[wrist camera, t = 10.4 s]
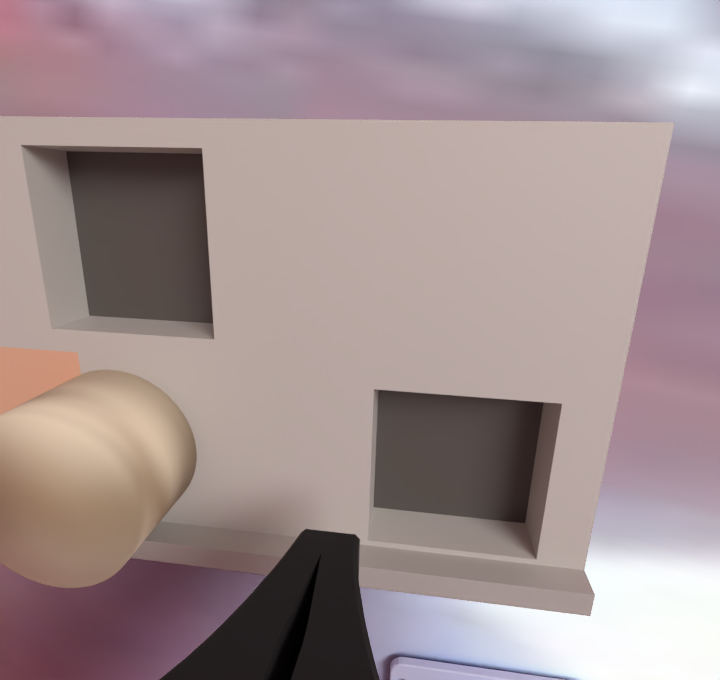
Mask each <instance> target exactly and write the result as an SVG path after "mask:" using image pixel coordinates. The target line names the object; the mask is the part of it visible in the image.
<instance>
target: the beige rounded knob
mask: <svg viewBox="0 0 720 680" xmlns="http://www.w3.org/2000/svg"><path fill="white" fill-rule="evenodd" d="M196 461H197V452H196V444H195V439H194V436H193V433H192V430H191V428H190V425H189V423H188V421H187V419H186V418H185V416H184V414H183V413H182V411H181V410H180V409H179V407H178V406H177V405H176V403H175V402H174V401H173V400H172V399H171V398H170V397H169V396H168V395H167V394H166V393H164V392H163V391H162V390H161V389H160V388H158V387H157V386H155V385H154V384H152V383H151V382H149V381H147V380H145V379H143V378H141V377H139V376H136V375H134V374H131V373H127V372H123V371H118V370H95V371H89V372H86V373H83V374H81V375H78V376H76V377H74V378H72V379H70V380H68V381H66V382H64V383H62V384H60V385H58V386H56V387H54V388H52V389H50V390H49V391H47V392H45V393H43V394H41V395H39V396H37V397H35V398H33V399H31V400H29V401H27V402H25V403H23V404H21V405H19V406H17V407H15V408H13V409H11V410H9V411H7V412H5V413H3V414H1V415H0V563H2V564H3V565H4V566H6V567H7V568H9V569H11V570H12V571H14V572H15V573H17V574H19V575H21V576H23V577H25V578H28V579H30V580H33V581H35V582H38V583H41V584H45V585H48V586H54V587H59V588H82V587H88V586H92V585H95V584H98V583H101V582H103V581H105V580H107V579H109V578H110V577H112V576H113V575H114V574H116V573H117V572H118V571H119V570H120V569H121V568H122V567H123V566H124V565H125V564H126V562H127V561H128V560H129V559H130V557H131V556H132V555H133V554H134V553H135V551H136V550H137V549H138V548H139V547H140V545H141V544H142V543H143V542H144V540H145V539H146V538H147V537H148V536H149V534H150V533H151V532H152V531H153V530H154V528H155V527H156V526H157V525H158V523H159V522H160V521H161V520H162V519H163V517H164V516H165V515H166V514H167V513H168V511H169V510H170V509H171V508H172V506H173V505H174V504H175V503H176V502H177V500H178V499H179V498H180V497H181V496H182V494H183V493H184V492H185V491H186V489H187V488H188V486H189V485H190V483H191V480H192V478H193V476H194V472H195V469H196Z"/></svg>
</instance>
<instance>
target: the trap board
mask: <svg viewBox="0 0 720 680" xmlns="http://www.w3.org/2000/svg"><path fill="white" fill-rule="evenodd" d="M673 127H674V123H656V122H548V121H440V120H332V119H224V118H116V117H8V116H0V415H1V414H3V413H5V412H7V411H9V410H11V409H13V408H15V407H17V406H19V405H21V404H23V403H25V402H27V401H29V400H31V399H33V398H35V397H37V396H39V395H41V394H43V393H45V392H47V391H49V390H50V389H52V388H54V387H56V386H58V385H60V384H62V383H64V382H66V381H68V380H70V379H72V378H74V377H76V376H78V375H81V374H83V373H86V372H89V371H95V370H118V371H123V372H127V373H131V374H134V375H136V376H139V377H141V378H143V379H145V380H147V381H149V382H151V383H152V384H154V385H155V386H157V387H158V388H160V389H161V390H162V391H163V392H164V393H166V394H167V395H168V396H169V397H170V398H171V399H172V400H173V401H174V402H175V403H176V405H177V406H178V407H179V409H180V410H181V411H182V413H183V414H184V416H185V418H186V419H187V421H188V423H189V425H190V428H191V430H192V433H193V436H194V439H195V444H196V452H197V461H196V469H195V472H194V476H193V478H192V480H191V483H190V485H189V486H188V488H187V489H186V491H185V492H184V493H183V494H182V496H181V497H180V498H179V499H178V500H177V502H176V503H175V504H174V505H173V506H172V508H171V509H170V510H169V511H168V513H167V514H166V515H165V516H164V517H163V519H162V520H161V521H160V522H159V523H158V525H157V526H156V527H155V528H154V530H153V531H152V532H151V533H150V534H149V536H148V537H147V538H146V539H145V540H144V542H143V543H142V544H141V545H140V547H139V548H138V549H137V550H136V551H135V553H134V554H133V555H132V556H131V557H130V558H135V559H143V560H151V561H158V562H166V563H174V564H182V565H190V566H198V567H206V568H214V569H222V570H230V571H238V572H246V573H254V574H262V575H268V574H269V573H270V572H271V571H272V569H273V568H274V567H275V566H276V565H277V563H278V562H279V561H280V560H281V558H282V557H283V556H284V555H285V553H286V552H287V551H288V549H289V548H290V547H291V545H292V544H293V543H294V541H295V540H296V539H297V537H298V536H299V535H300V533H301V532H302V531H303V530H305V529H311V530H320V531H329V532H338V533H347V534H356V536H357V537H358V538H359V539H360V551H359V587H365V588H373V589H380V590H388V591H396V592H404V593H412V594H420V595H428V596H436V597H444V598H452V599H460V600H468V601H476V602H484V603H492V604H499V605H507V606H515V607H523V608H531V609H539V610H547V611H555V612H563V613H571V614H579V615H587V616H590V614H591V610H592V605H593V600H594V596H595V595H594V592H593V590H592V588H591V585H590V583H589V581H588V578H587V576H586V574H585V572H584V567H585V562H586V557H587V552H588V547H589V543H590V538H591V533H592V528H593V523H594V518H595V513H596V508H597V503H598V498H599V493H600V488H601V483H602V478H603V473H604V468H605V463H606V458H607V453H608V448H609V444H610V439H611V434H612V429H613V424H614V419H615V414H616V409H617V404H618V399H619V394H620V389H621V384H622V379H623V374H624V369H625V364H626V359H627V354H628V349H629V344H630V340H631V335H632V330H633V325H634V320H635V315H636V310H637V305H638V300H639V295H640V290H641V285H642V280H643V275H644V270H645V265H646V260H647V255H648V250H649V245H650V241H651V236H652V231H653V226H654V221H655V216H656V211H657V206H658V201H659V196H660V191H661V186H662V181H663V176H664V171H665V166H666V161H667V156H668V151H669V146H670V141H671V137H672V132H673Z"/></svg>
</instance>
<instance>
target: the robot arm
mask: <svg viewBox="0 0 720 680" xmlns="http://www.w3.org/2000/svg"><path fill="white" fill-rule="evenodd" d="M359 551H360V539H359V538H358V537H357V536H356V534H347V533H338V532H329V531H320V530H311V529H305V530H303V531H302V532H301V533H300V535H299V536H298V537H297V539H296V540H295V541H294V543H293V544H292V545H291V547H290V548H289V549H288V551H287V552H286V553H285V555H284V556H283V557H282V558H281V560H280V561H279V562H278V563H277V565H276V566H275V567H274V568H273V569H272V571H271V572H270V573H269V574H268V575H267V576H266V578H265V579H264V580H263V581H262V582H261V583H260V585H259V586H258V587H257V588H256V589H255V590H254V592H253V593H252V594H251V595H250V596H249V597H248V598H247V599H246V600H245V601H244V602H243V603H242V604H241V605H240V606H239V607H238V609H237V610H236V611H235V612H234V613H233V614H232V615H231V616H230V617H229V618H228V619H227V620H226V621H225V622H224V623H223V624H222V625H221V626H220V627H219V628H218V629H217V630H216V631H215V632H214V633H213V634H212V635H211V636H210V637H209V638H207V639H206V640H205V641H204V642H203V643H202V644H201V645H200V646H199V647H198V648H196V649H195V650H194V651H193V652H192V653H191V654H190V655H189V656H187V657H186V658H185V659H184V660H183V661H182V662H181V663H179V664H178V665H177V666H176V667H174V668H173V669H172V670H171V671H170V672H168V673H167V674H166V675H165V676H163V677H162V678H161V679H160V680H380V679H379V676H378V673H377V669H376V665H375V662H374V658H373V654H372V650H371V646H370V642H369V637H368V633H367V628H366V623H365V618H364V613H363V607H362V600H361V594H360V587H359ZM390 680H563V679H556V678H549V677H542V676H535V675H528V674H521V673H514V672H507V671H500V670H493V669H486V668H479V667H472V666H464V665H457V664H450V663H443V662H436V661H429V660H422V659H415V658H408V657H397V658H395V659H394V660H392V662H391V667H390Z"/></svg>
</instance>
